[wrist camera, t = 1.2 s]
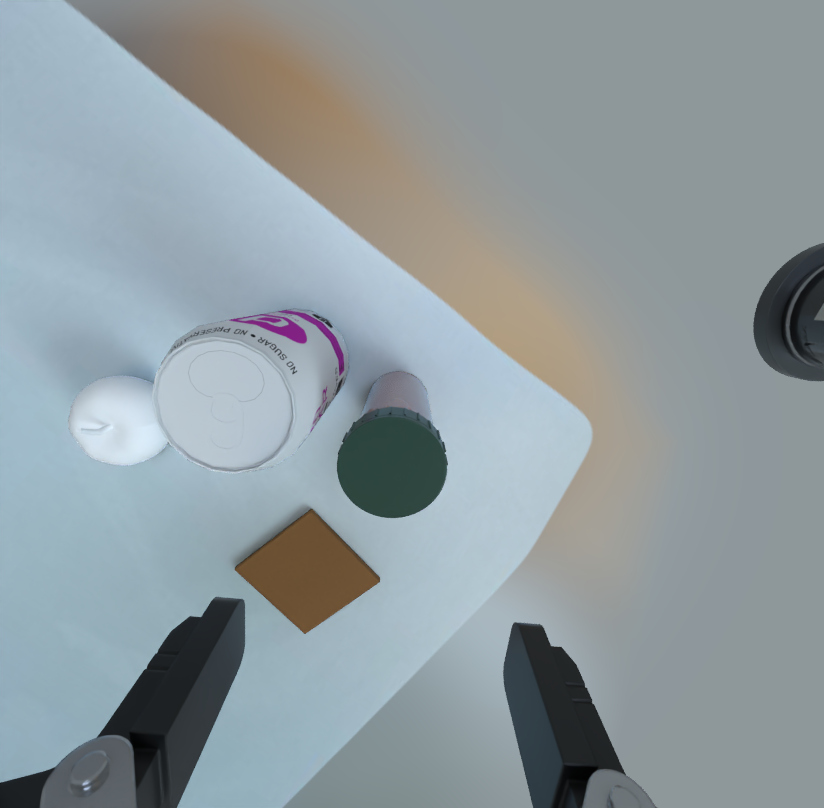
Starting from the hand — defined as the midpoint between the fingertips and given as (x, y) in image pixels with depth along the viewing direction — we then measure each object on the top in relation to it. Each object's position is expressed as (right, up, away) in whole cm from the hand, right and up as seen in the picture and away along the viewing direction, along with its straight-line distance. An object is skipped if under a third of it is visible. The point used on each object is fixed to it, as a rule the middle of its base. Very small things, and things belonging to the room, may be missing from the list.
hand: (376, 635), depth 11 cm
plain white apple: (-22, +6, +24) cm, 33 cm away
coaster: (-9, -10, +29) cm, 32 cm away
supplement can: (-8, +10, +23) cm, 27 cm away
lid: (0, +3, +11) cm, 11 cm away
